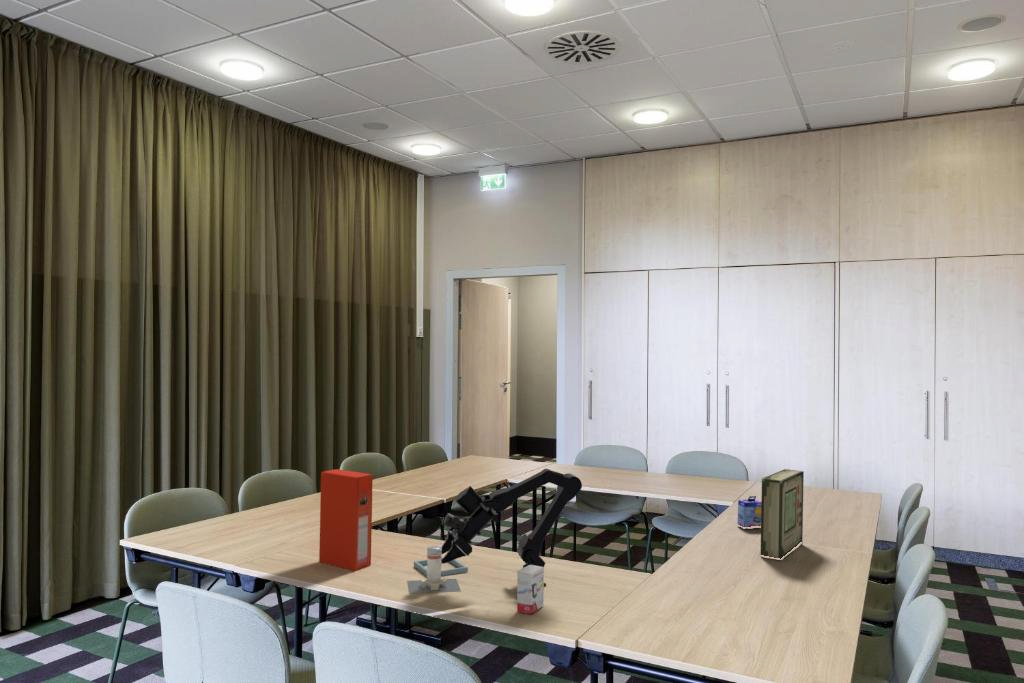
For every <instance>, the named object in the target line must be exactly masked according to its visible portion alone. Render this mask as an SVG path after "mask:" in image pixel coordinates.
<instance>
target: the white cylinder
mask: <svg viewBox="0 0 1024 683" xmlns="http://www.w3.org/2000/svg"><path fill="white" fill-rule="evenodd" d="M426 549H427V551H426V557H427V558H426V560H427V566H426V569H427V575H426V580H427V581H426V587H428V588H431V583H439V587H441V579H442V578H441V577H442V576H441V570H442V564H441V558H442V555H443V554H442V546H439V545H431V546H428V547H427V548H426Z"/></svg>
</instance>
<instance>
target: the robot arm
mask: <svg viewBox="0 0 1024 683" xmlns="http://www.w3.org/2000/svg"><path fill="white" fill-rule="evenodd" d="M549 483H550V484H552V485H555V486H556V492H555V494H554V497H553V498H552V500H551V501H550V503H549V505H548V507H547V508H546V510H545V511H544V513H543V514H542V516H541V518H540V519H539V521H538V522H537V524H536V526H535V527H534V528H533V530H532V532H530V533H529V534H526V533H523V535H522V537H521V539H520V540H519V541H518V542H517V545H518V546H517V548H516V550H517V554H518V556H519V557H520V559H521V560H522V561H523V563H525V564H522V568H524V567H526V566H528V565H536V566H541V567H544V568H545V565H546V562H545V561H544V559H543V558H542V556H540V555H541V552H542V548H543V545H544V544H543V543H544V540H545V539H546V537H547V536H548V534H549V532H550V531H551V529H552V527H553V526H554V524H555V523H556V521H557V519H558V517H559V516H560V515H561V513H562V511H563V510H564V509H565V507H566V505H567V504H568V503H569V502H570V501H571V500H573V499H575V497H576V496H577V495H578V494H579V493H580V491H581V490H582V487H583V484H582V481H581V479H580V478H579V477H578V476H576V475H574V474H572V473H561V472H559V471H554V470H551V469H550V468H544V469H542V470H540V472H537V473H536V474H533V475H532V476H529V477H528V478H526V479H524V480H521V481H520V482H517V483H516V484H514V485H511V486H509V487H504V488H499V489H496V490H493V491H491V492H490V493H488V494H484V495H479V494H478V493H477V492H476V491H475V490H474V488H473V487H472V486H471V485H469V486H467V488H464V489H463V490H461V491H460V492H459V493H458V494H457V495H456V497H455V498H454V502H455V503H456V504H457V505H459V507H461V508H460V509H462V510H463V511H464V512H466V514H468V513H469V514H470V515H469V517H467V516H466V517H464V518H463V519H462V518H460V516H456V515H454V514H451V513H449V512H448V513H447V514H446V516H445V518H444V520H443V523H444V525H445V526H446V527H447V528H448V529H447V531H446V532H447V536H446V539H445V541H444V542H443V544H442V546H441V547H442V555H443V554H445V555H444V556H443V557H444V558H443V559H442V561H441V562H442V563H443V564H448V563H447V562H449V561H452V560H455V559H456V560H457V559H459V558H462V557H463V558H464V557H466V556H467V557H468V556H470V554H471V553H472V552H473V547H472V543H473V542H472V541H473V539H474V538H475V537H476V536H480V535H481V534H482V532H481V531H482V530H483V529H484V528H485V527H486V526H487V525H488V524H489V523H490V522H491V521H492V520H493V521H494V522H495V524H498V523H499V513H501V512H504V511H505V510H507V509H508V508H510V506H512V505H513V504H514V503H515V502H516V501H517V500H518V499H520V498H522V497H523V496H525V495H527V494H530V493H532V492H533V491H536V490H537V489H540V487H541V488H542V486H544V485H547V484H549ZM482 504H483V505H482ZM495 512H496V513H495ZM545 586H547V583H546V582H544V587H545Z"/></svg>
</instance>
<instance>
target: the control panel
mask: <svg viewBox="0 0 1024 683" xmlns="http://www.w3.org/2000/svg"><path fill="white" fill-rule="evenodd" d="M804 472H805V471H802V470H796V469H795V470H794V469H787V468H786V469H785V468H784V469H782V470H779V471H777V472H774V473H772V474H769V475H768V476H765V477H762V478H761V500H760V501H761V529H760V555H764V556H769V557H774V558H780V559H781V558H782V557H783V556H785V555H786V554H787V553H788V552H790V551H791V550H792V549H793V548H794V547H796V546H797V545H798V544H799V543H800V542H802V543H803V536H804V535H803V532H804V531H803V528H804V526H803V524H804V523H803V522H804Z"/></svg>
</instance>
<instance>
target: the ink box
mask: <svg viewBox="0 0 1024 683" xmlns="http://www.w3.org/2000/svg"><path fill="white" fill-rule="evenodd" d="M516 575H517V576H516V577H517V580H516V581H517V585H516V586H517V587H516V590H517V591H516V593H517V595H516V596H517V597H516V600H517V602H516V603H517V604H516V606H517V613H523V614H530V615H532V614H534V613H535V612H536V611H538V610H539V609H541V608H543V606H544V602H545V601H544V600H545V599H544V596H545V595H544V590H545V589H544V588H545V586H544V583H545V580H544V579H545V566H544V567H541V566H536V565H528V566H526V567H524V568H523V567H522V568H521V569H518V570H517V574H516Z"/></svg>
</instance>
